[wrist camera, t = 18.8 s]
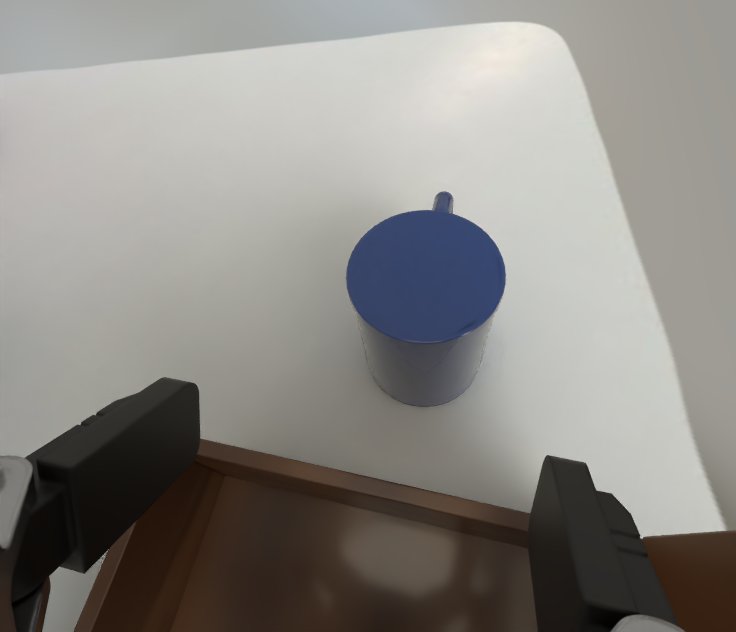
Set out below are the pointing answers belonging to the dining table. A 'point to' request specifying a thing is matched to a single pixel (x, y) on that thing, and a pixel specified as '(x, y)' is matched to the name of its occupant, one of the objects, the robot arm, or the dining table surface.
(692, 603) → the chest lid
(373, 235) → the blue coffee mug
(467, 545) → the chest
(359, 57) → the dining table surface
